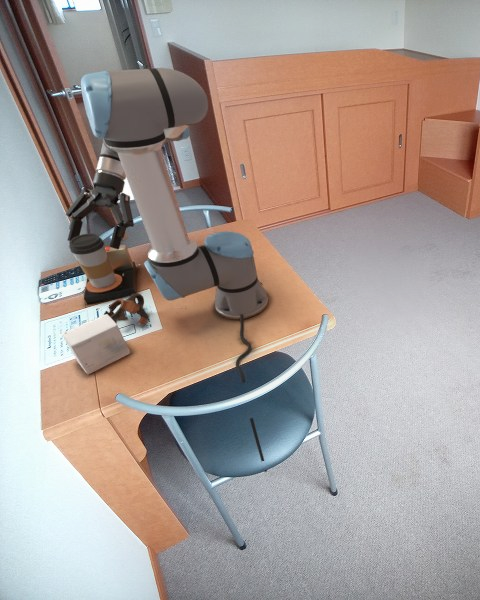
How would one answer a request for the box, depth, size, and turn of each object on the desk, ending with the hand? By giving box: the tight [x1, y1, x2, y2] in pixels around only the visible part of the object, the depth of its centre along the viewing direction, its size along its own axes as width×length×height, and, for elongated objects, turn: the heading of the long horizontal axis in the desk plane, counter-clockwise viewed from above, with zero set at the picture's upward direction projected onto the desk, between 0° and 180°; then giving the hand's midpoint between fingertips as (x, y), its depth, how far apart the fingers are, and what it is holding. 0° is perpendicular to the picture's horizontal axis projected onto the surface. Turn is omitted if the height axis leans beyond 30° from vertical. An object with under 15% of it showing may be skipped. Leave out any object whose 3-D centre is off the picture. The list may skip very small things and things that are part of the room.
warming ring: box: [85, 274, 122, 293], centre depth 131 cm, size 10×10×1 cm
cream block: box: [105, 244, 134, 272], centre depth 135 cm, size 6×3×8 cm, turn 115°
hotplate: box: [83, 261, 140, 306], centre depth 134 cm, size 18×15×3 cm
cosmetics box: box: [61, 314, 131, 375], centre depth 107 cm, size 10×6×10 cm, turn 140°
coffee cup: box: [68, 233, 115, 288], centre depth 126 cm, size 8×8×15 cm
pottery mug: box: [103, 292, 150, 327], centre depth 121 cm, size 12×10×8 cm
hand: (93, 245), depth 124 cm, fingers open, 13 cm apart
